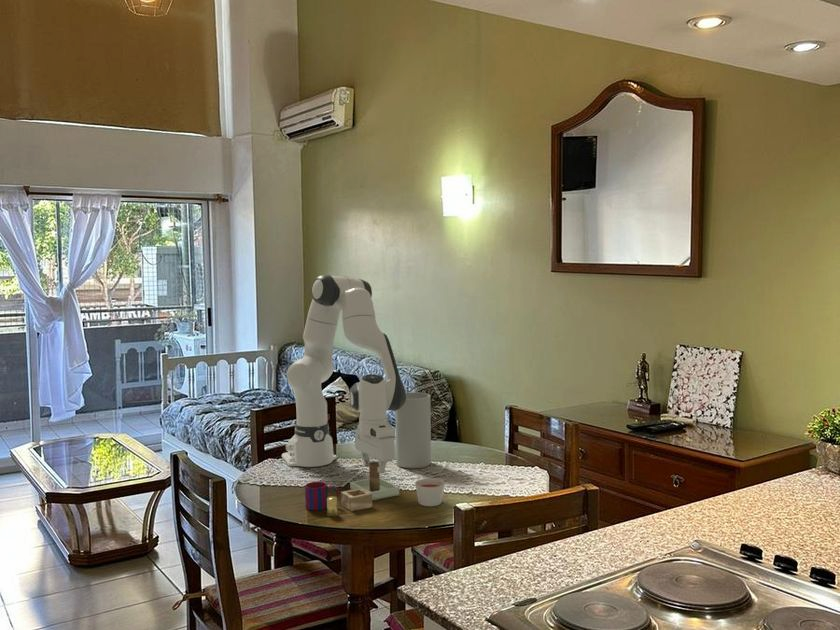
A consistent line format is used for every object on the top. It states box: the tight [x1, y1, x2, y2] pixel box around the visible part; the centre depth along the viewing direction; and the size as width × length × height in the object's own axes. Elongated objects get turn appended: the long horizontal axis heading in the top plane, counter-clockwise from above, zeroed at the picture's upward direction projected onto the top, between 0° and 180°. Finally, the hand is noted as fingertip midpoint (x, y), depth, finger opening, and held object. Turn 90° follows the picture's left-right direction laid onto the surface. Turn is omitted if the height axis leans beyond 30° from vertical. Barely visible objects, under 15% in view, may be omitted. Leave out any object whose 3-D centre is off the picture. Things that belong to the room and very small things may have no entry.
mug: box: [304, 481, 339, 511], centre depth 231 cm, size 7×10×7 cm
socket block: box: [340, 488, 373, 512], centre depth 232 cm, size 7×7×4 cm
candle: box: [414, 477, 446, 507], centre depth 234 cm, size 9×9×6 cm
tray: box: [349, 476, 400, 501], centre depth 245 cm, size 13×10×2 cm
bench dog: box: [326, 496, 338, 517], centre depth 225 cm, size 3×3×5 cm
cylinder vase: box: [395, 391, 432, 470], centre depth 276 cm, size 12×12×25 cm
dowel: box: [368, 460, 380, 492], centre depth 245 cm, size 3×3×9 cm
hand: (373, 469), depth 245 cm, fingers open, 8 cm apart
